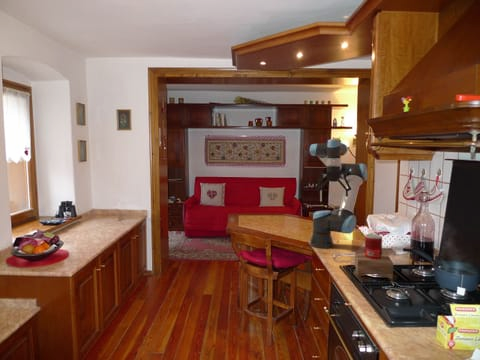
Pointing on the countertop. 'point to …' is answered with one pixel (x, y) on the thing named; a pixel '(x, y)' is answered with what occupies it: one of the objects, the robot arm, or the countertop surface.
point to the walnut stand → (373, 265)
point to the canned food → (373, 246)
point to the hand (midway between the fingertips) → (332, 201)
